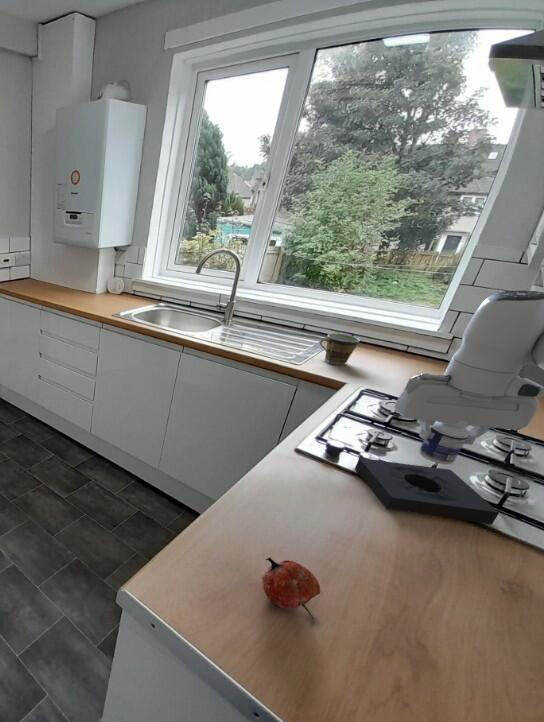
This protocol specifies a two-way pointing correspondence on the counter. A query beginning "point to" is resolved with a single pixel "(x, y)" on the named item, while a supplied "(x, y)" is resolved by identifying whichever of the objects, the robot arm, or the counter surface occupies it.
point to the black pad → (439, 499)
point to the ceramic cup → (339, 348)
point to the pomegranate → (289, 584)
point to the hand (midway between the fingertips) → (444, 440)
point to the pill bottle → (445, 442)
